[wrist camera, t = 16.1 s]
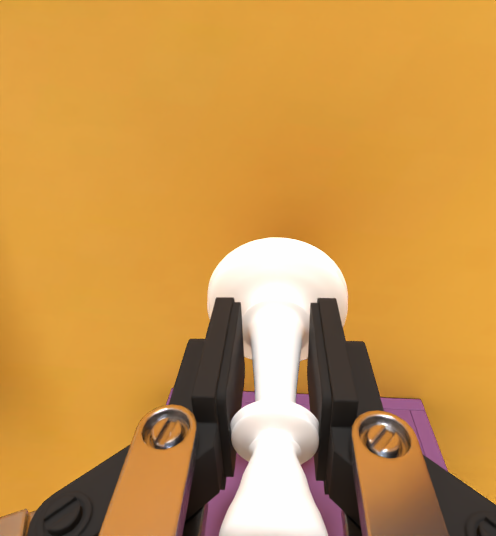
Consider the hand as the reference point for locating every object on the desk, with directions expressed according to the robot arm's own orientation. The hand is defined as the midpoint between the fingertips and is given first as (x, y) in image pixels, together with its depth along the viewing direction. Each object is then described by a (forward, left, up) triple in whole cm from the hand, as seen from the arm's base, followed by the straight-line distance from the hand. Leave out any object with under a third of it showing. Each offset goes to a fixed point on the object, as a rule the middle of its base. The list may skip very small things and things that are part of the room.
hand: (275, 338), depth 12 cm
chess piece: (0, 0, -2) cm, 2 cm away
